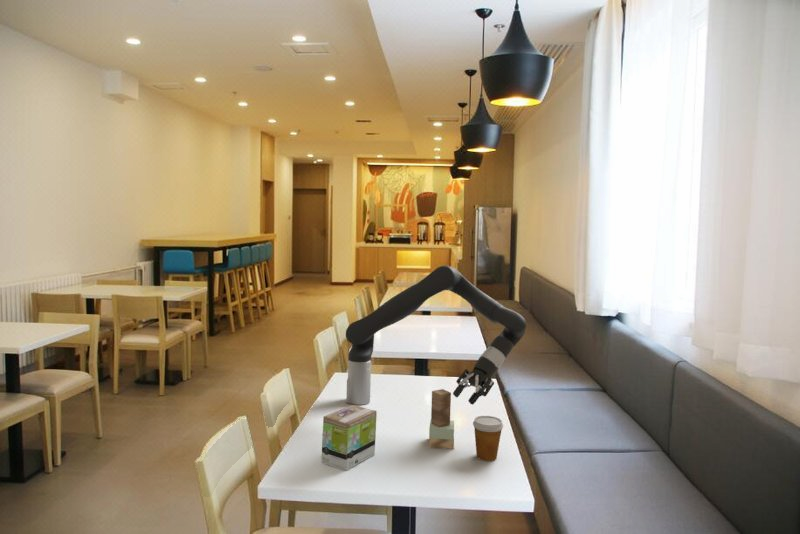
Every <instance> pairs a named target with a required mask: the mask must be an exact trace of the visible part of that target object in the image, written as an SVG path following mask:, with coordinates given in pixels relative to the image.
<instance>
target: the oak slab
mask: <svg viewBox="0 0 800 534" xmlns="http://www.w3.org/2000/svg"><path fill="white" fill-rule="evenodd" d="M428 440H429V442H428V443H429V444H428V446H429V447H430V448H429V449H442V448H449V449H448V450H454V449H455V439H454V440H451V439H436V438H429V439H428Z"/></svg>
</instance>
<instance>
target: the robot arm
mask: <svg viewBox="0 0 800 534" xmlns="http://www.w3.org/2000/svg"><path fill="white" fill-rule="evenodd" d="M444 291H449V292H451V293H453V294H455V295H458V296H459V297H461V298H462V299H463V300H465V301H466V302H468V304H469V305H471V307H473V308H474V310H475V311H477V312H478V313H479V314H480V315H482V316H483V317H485V318H486V319H488V320H489V321H490V322H491V323H493V324H500V325H502V326H504V328H503V330H502V332H500V333H499V335H497V336H496V337H495V338H494V339H493V341H492V342H491V343H490V344H489V346H488V347H487V348H486V349H485V350H484V351H483V352H482V354H480V357H479V358H478V359H477V361H476V362H475V363H474V364H473V370H472V371H469V369H468V368H466V369H464V371H463V372H462V373H461V374H460V376H459V377H458V378H457V380H456V381H455V382H456V383H457V387H455V389H454V391H453V393H452V396H454V397H455V398H459V397H460V396H461V394H462V393H463V391H464V390H465V389H466V388H470V387H475V391H474V392H472V394H471V395H470V397H469V398H468V399H467V401H468V402H469V404H470V405H474V404H475V403H476V402H477V401H478V400H479V398H480V397H486V396H488V394H489V392H490V390H491V389H492V387H493V386H494V385H495V382H494V381H493V378H494V376H495V375H496V374H497V372H498V370H499V369H500V368H501V367H502V365H503V363H504V361H505V360H506V358H507V357H508V355H509V354H510V353H511V351H512V349H513V348H514V347H516V346H517V344H518V343H519V342H520V340H521V339H522V338H523V337H524V335H525V333H526V329H527V321H526V319H525V318H524V317H523V316H522V314H520V313H518V312H516V311H514V310H513V309H511V308H508V307H505V306H504V305H502V304H501V303H500V302H498V301H497V300H496V299H494V298H492V297H490V296H489V295H488V294H486V293H485V292H483V291H482V290H480V288H478V287H476V286H475V285H474V284H472V283H471V282H470V281H469V280H468V279H467V278H466V277H465V276H463V275H462V273H461V272H460V271H459V270H458V269H457V268H455V267H454V266H450V265H441V266H438V267H436V268H435V269H434V270H432V271H431V272H430V273H429V274H428V275H427V276H425V277H423V278H422V279H421V280H419V282H417V283H414V284H413V285H411V286H409V287H408V288H406V289H404V290H402V291H400V292H399V293H397V294H396V295H394V296H393V297H391V298H389V299H388V300H387V301H386V302H384V303H383V304H381V305H380V306H379V307H377V308H376V309H375V310H373V312H371V313H369V314H368V315H366V316H364V317H362V318H360V319H358V320H355V321H352V322H351V323H350V324H349V325H348V326H347V328H346V329H345V338H346V340H347V342H348V343H350V344H351V347H350V350H349V351H348V357H347V359H348V360H347V362H348V363H347V378H346V379H347V380H346V403H347V404H350V405H356V406H359V405H366V404H369V403H370V402H371V385H372V384H371V383H372V381H371V378H372V355H373V352H374V345H375V344H374V343H375V342H374V341H375V334H376V333H377V332H379V331H380V330H383V329H385V328H387V327H389V326H391V325H394V324H396V323H398V322H400V321H402V320H404V319H405V318H407V317H409V316H410V315H412V314H413V313H414V312H417V310H418V309H419V308H420V307H421V306H422V305H423V304H424V303H425V302H426V301H427V300H429V299H430V298H432V297H433V296H435V295H437V294H439V293H441V292H444Z"/></svg>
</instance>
